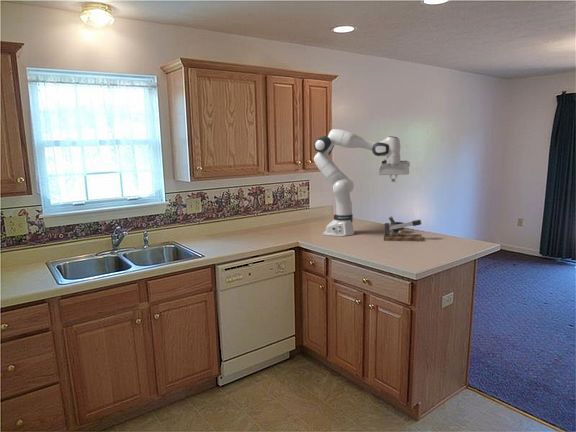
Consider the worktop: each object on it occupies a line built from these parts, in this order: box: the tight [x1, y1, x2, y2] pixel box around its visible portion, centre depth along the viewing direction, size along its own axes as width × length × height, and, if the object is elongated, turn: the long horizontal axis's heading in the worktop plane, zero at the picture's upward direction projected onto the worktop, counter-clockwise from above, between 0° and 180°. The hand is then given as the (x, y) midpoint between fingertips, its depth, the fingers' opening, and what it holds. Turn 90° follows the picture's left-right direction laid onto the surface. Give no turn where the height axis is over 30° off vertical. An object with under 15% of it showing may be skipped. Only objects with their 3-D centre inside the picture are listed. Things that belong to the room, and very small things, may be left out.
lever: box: [389, 219, 422, 231], centre depth 270 cm, size 21×4×3 cm, turn 75°
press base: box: [383, 222, 423, 242], centre depth 271 cm, size 24×12×10 cm, turn 76°
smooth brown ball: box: [398, 229, 406, 236], centre depth 271 cm, size 4×4×4 cm
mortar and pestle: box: [388, 216, 405, 234], centre depth 290 cm, size 11×9×12 cm
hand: (393, 181), depth 276 cm, fingers closed
